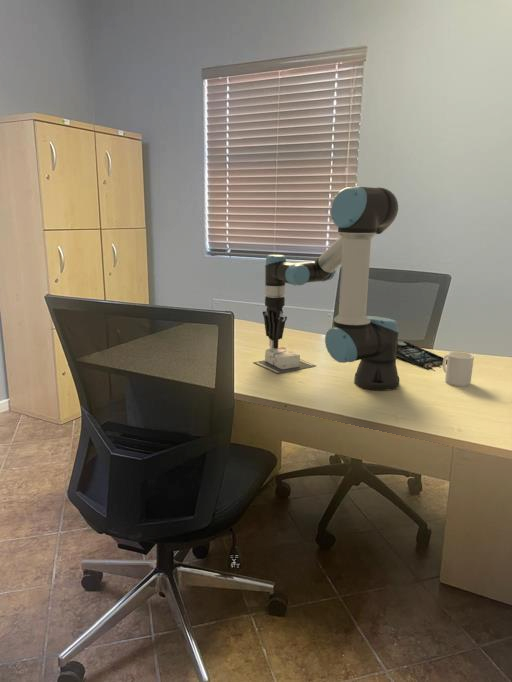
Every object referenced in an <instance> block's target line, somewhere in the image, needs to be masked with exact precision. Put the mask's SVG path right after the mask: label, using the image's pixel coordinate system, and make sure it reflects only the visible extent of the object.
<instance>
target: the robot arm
mask: <svg viewBox="0 0 512 682" xmlns="http://www.w3.org/2000/svg"><path fill="white" fill-rule="evenodd" d="M398 211H399V201H398V199H397V197H396V195H395V194H394V193H393V192H392V191H391V190H389V189H388V188H385V187H368V186H357V185H356V186H349V187H345V188H342V189H341V190H340V191H338V193H337V195H335V196H334V199H333V200H332V204H331V207H330V216H331V219H332V220H333V221H332V222H333V224H334V225H335V226H337V229H338V230H337V233H338V235H339V237H338V238H337V239H336V241H334V242H333V243H332V244H331V245H330V246H329V247H328V248H327V249H326V250H325V251H324V252H322V254H321V255H320V256H319V257H318V258H317V259H316V260H314V261H305V262H304V261H303V262H288V261H287V257H286V256H285V255H284V254H268V255H267V256H266V258H265V265H264V267H265V273H264V275H265V281H264V282H265V283H264V284H265V286H264V295H265V297H264V305H265V307H266V310H265V311H264V310H263V311H262V316H263V319H264V328H265V336H266V337H267V338H268V339H269V349H274V348H279V340H282V339H283V337H284V336H283V335H284V332H285V331H284V330H285V325H286V321H287V319H288V317H287V316H286V315H284V311H283V307H284V306H285V301H286V300H285V299H286V297H285V293H286V284H288V285H292V286H303V285H305V284H306V283H316V282H326V281H330V280H332V279H333V278H334V276H335V274H336V271H337V270H336V269H338V268H339V267H340V286H339V299H338V300H339V301H338V302H339V303H338V314H337V316H334V318H333V324H332V325H333V326H332V327H331V328H329V329H328V331H327V332H326V334H325V338H324V343H325V348H326V349H327V353H328V354H329V355H330V356H331V358H332V359H333V360H334V361H336V362H339V363H342V364H345V363H353V362H355V361H360V362H359V364H358V366H357V370H356V372H355V374H354V380H353V382H354V383H355V384H356V386H358V387H361V388H363V389H366V390H371V391H372V390H373V391H392V390H395V389H397V388H399V386H400V377H399V373H398V369H397V364H396V363H397V362H396V361H397V360H396V359H397V356H396V353H397V342H399V333H400V332H399V323H398V321H397V320H394V319H392V318H388V317H381V316H375V315H373V316H372V315H367V308H368V307H367V306H368V292H369V290H368V289H369V277H370V276H369V275H370V260H371V245H372V244H371V243H372V238H373V237H374V236H375V235H381V234H382V233H384V232H385V231H386V230H387V229H388V228H389V227H390V226H391V225H392V224H393V222H394V221H395V219H396V218H397V215H398V214H399V213H398Z"/></svg>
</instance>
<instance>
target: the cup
mask: <svg viewBox="0 0 512 682" xmlns="http://www.w3.org/2000/svg"><path fill="white" fill-rule="evenodd" d="M443 358H444V359H443V363H442V370H443V372H444V373H445V378H444V379H445V383H446V384H448V385H450V386H455V387H460V388H461V387H468V386H470V385H471V382H472V374H473V366H474V359H475V356H474V354H472V353H470V352H463V351H450V352H448V353H446V354H444V357H443ZM446 360H447V365H446Z"/></svg>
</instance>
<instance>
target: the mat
mask: <svg viewBox="0 0 512 682" xmlns="http://www.w3.org/2000/svg"><path fill="white" fill-rule="evenodd" d="M252 363H253V364H255V365H258V366H259V367H262V368H264V369H265V370H267V371H270V372H273V373H274V374H276V375H281V374H285V373H289V372H290V373H291V372H295V371H299V370H304V369H305V370H306V369H310V368H314V367H316V366H317V365H316V364H313V363H310V362H309V361H306V360H303V359H301V358H300V364H299V367H295V368H288V369H280V368H278V367H276V366H274V365H272V364H270V363H268V362H266V361H265V359H264V360H259V361H254V362H252Z"/></svg>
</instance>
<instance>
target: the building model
mask: <svg viewBox="0 0 512 682" xmlns="http://www.w3.org/2000/svg"><path fill="white" fill-rule="evenodd" d="M396 357H398V358H401V359H403V360H404V361H407V362H409V363H412V364H414V365H415V366H417V367H419V368H424V369H425V370H427V371H429V370H432V371H433V372H436V370H435V369H433V367H434V366H436V367H439V368H442V366H440V365H443V359H444V357H443V356H440V355H438V354H437V353H434V352H431V351H429V350H426V349H424V348H422V347H419V346H417V345H415V344H412V343H410V342H408V341H406V340H405V341H404V340H402V341H400V340H399V341H398V342H397V353H396ZM447 360H448V359H447ZM447 360H446V366H447Z"/></svg>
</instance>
